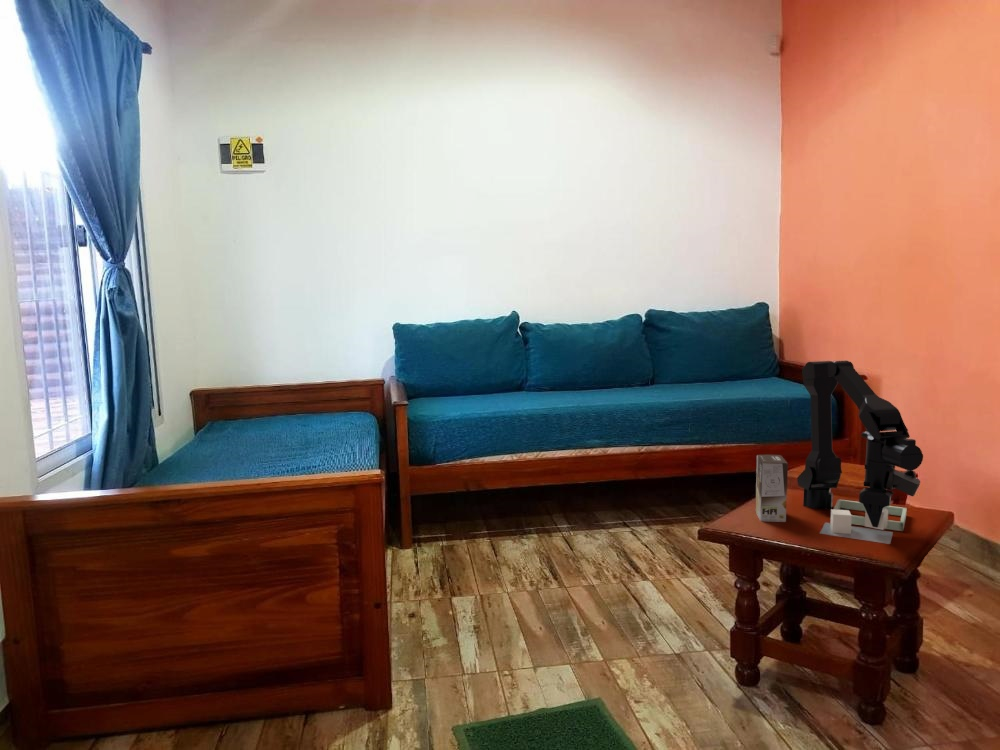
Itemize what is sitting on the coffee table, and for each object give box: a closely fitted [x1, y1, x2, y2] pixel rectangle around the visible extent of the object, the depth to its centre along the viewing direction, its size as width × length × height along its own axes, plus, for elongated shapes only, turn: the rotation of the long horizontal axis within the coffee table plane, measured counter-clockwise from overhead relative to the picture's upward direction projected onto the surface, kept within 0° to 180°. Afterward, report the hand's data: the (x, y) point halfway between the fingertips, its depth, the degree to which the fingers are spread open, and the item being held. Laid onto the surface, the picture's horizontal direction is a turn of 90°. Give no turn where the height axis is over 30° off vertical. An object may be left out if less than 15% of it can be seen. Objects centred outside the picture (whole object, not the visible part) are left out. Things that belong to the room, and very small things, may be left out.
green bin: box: [833, 498, 908, 532], centre depth 191 cm, size 16×13×3 cm
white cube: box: [829, 508, 853, 534], centre depth 182 cm, size 4×4×4 cm
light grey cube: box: [864, 508, 889, 531], centre depth 178 cm, size 4×4×4 cm
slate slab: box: [819, 521, 894, 545], centre depth 180 cm, size 15×9×1 cm, turn 59°
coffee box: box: [755, 454, 789, 523], centre depth 193 cm, size 9×6×16 cm
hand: (876, 524), depth 178 cm, fingers closed on light grey cube, 4 cm apart
